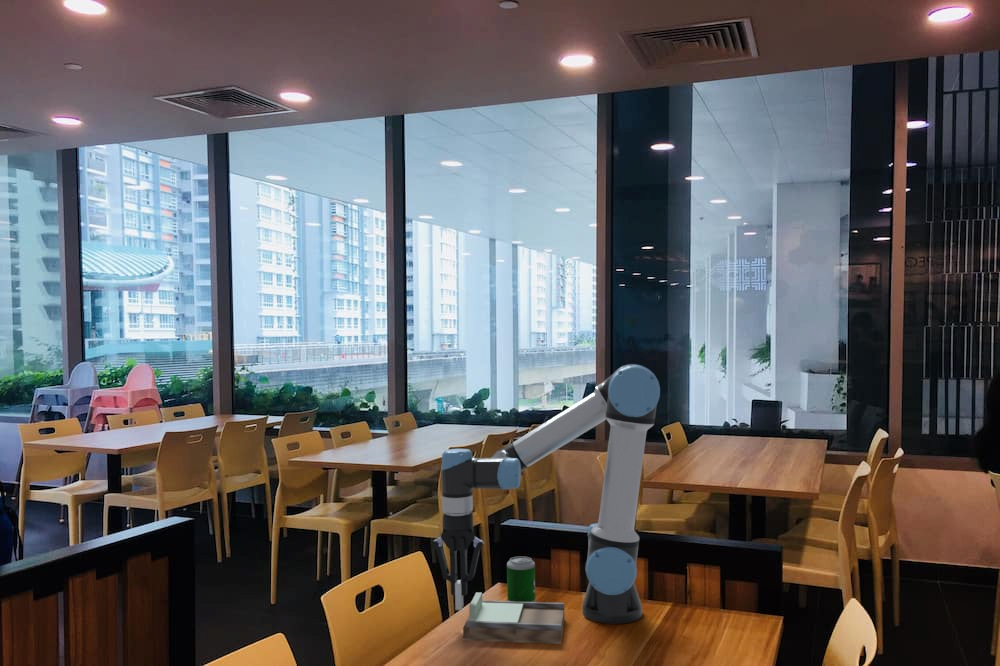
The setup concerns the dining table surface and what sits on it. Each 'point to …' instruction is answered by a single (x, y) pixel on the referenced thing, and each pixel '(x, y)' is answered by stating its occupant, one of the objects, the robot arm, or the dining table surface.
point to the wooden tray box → (521, 625)
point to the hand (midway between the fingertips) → (459, 608)
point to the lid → (494, 611)
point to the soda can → (521, 579)
